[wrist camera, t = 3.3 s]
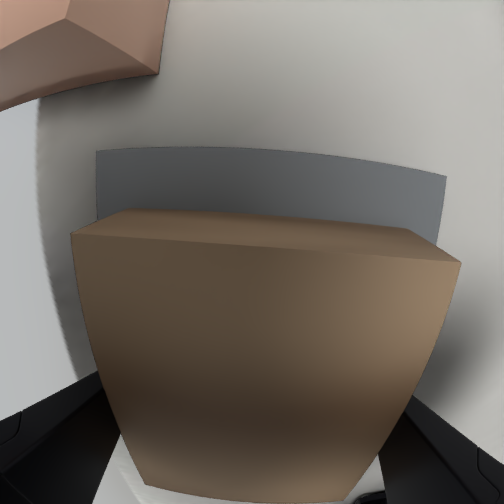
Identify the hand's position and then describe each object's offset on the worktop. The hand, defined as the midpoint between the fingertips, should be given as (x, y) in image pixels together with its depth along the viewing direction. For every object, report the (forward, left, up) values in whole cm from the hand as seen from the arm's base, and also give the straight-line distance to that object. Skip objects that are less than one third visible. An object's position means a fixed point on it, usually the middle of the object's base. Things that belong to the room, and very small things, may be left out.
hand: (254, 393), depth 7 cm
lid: (0, 0, -1) cm, 1 cm away
